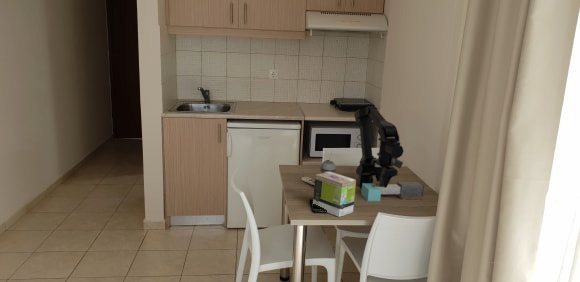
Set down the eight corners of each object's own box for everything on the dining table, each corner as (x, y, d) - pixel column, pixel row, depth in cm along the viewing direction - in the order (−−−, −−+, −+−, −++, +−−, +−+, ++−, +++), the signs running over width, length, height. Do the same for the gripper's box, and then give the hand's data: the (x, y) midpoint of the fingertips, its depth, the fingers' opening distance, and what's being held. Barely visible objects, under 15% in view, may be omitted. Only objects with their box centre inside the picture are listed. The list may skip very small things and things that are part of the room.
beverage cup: (324, 188, 221) (327, 148, 216) (336, 192, 216) (340, 151, 212) (315, 191, 215) (318, 150, 211) (328, 195, 211) (331, 154, 206)
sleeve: (400, 199, 212) (402, 185, 210) (395, 195, 217) (397, 181, 215) (422, 199, 214) (424, 185, 212) (417, 195, 219) (419, 182, 217)
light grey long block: (373, 194, 210) (375, 177, 208) (371, 191, 213) (372, 175, 211) (408, 194, 213) (410, 177, 211) (404, 191, 216) (407, 175, 214)
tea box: (353, 212, 192) (357, 179, 189) (338, 217, 185) (341, 183, 182) (327, 201, 203) (329, 170, 199) (311, 206, 196) (314, 173, 192)
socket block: (367, 201, 207) (368, 189, 206) (361, 194, 215) (362, 183, 214) (380, 201, 208) (381, 189, 207) (373, 194, 217) (374, 183, 215)
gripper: (410, 157, 200) (406, 191, 204) (393, 147, 218) (390, 178, 222) (386, 157, 198) (383, 191, 202) (371, 146, 216) (368, 178, 220)
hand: (381, 184), depth 211 cm, fingers open, 8 cm apart
